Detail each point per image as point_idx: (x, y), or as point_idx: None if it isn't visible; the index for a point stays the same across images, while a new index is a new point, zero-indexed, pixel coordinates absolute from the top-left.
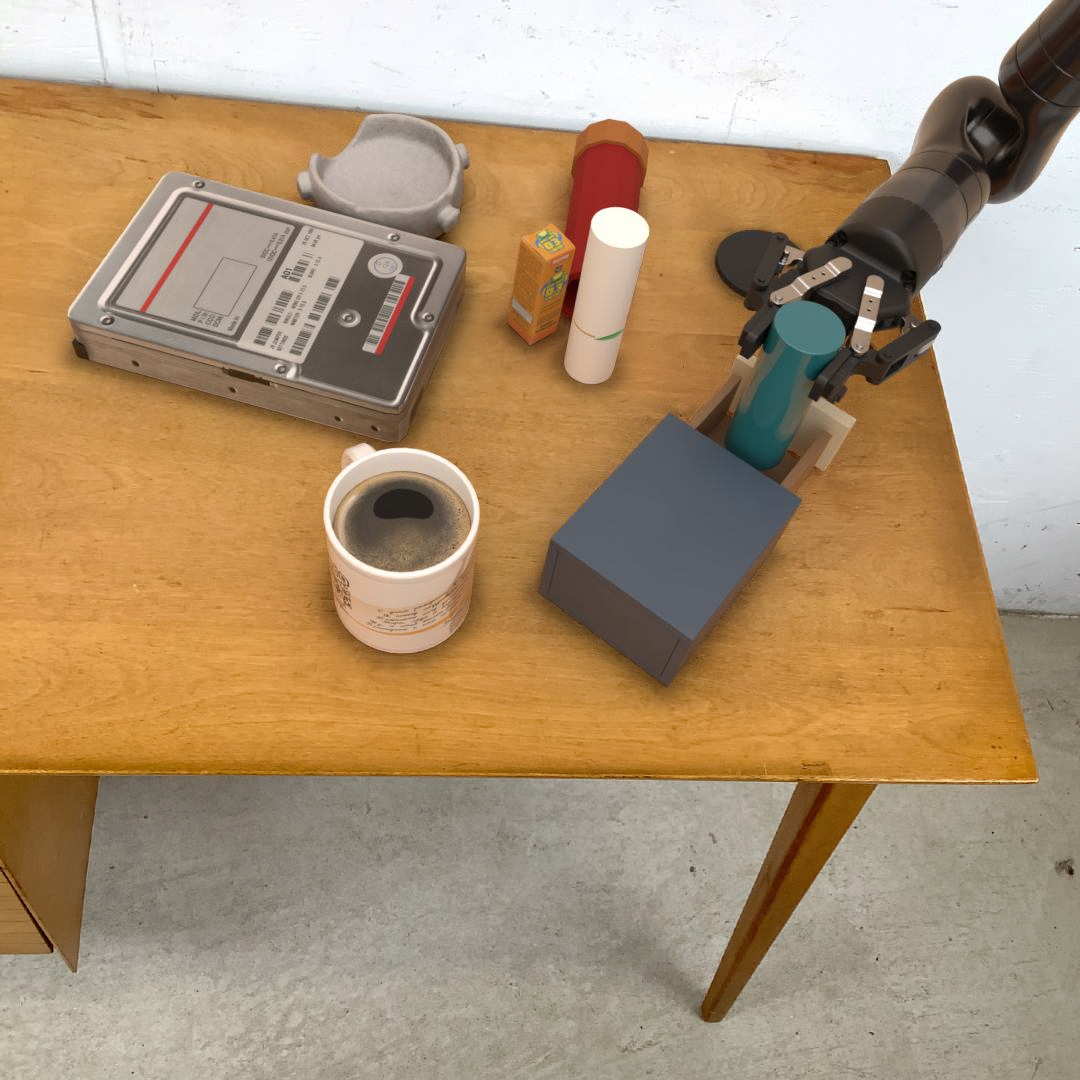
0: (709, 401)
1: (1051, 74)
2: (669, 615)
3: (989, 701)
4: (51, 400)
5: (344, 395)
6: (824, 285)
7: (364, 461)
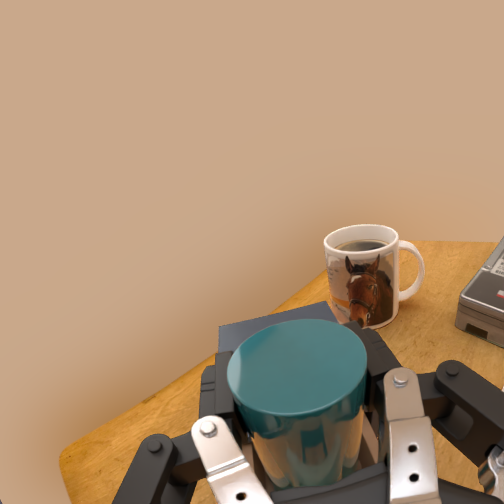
0: None
1: None
2: (239, 324)
3: (73, 478)
4: (486, 247)
5: (470, 281)
6: (387, 480)
7: (394, 232)
